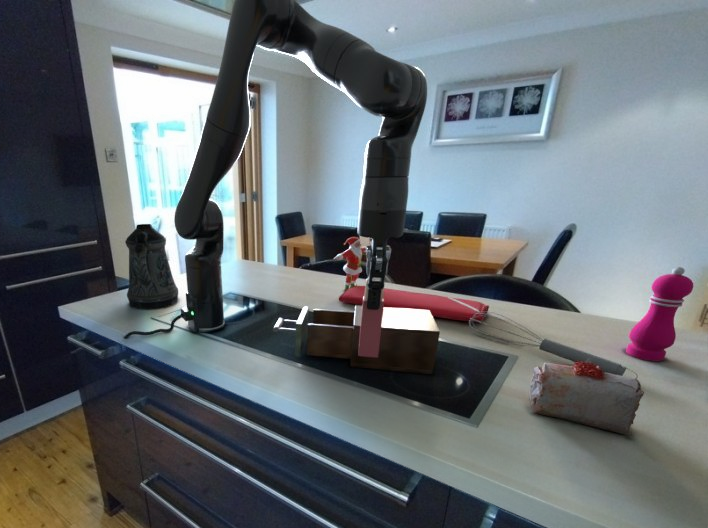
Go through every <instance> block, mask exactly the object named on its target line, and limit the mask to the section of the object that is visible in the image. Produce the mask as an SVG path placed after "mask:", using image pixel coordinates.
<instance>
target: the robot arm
mask: <svg viewBox="0 0 708 528" xmlns="http://www.w3.org/2000/svg"><path fill="white" fill-rule="evenodd" d="M231 8H232V9H231V12H230V17H229V21H228V22H229V23H228V27H227V32H226V37H225V42H224V47H223V52H222V57H221V61H220V67H219V71H218V74H217V79H216V82H215V87H214V90H213V93H212V97H211V101H210V104H209V107H208V110H207V113H206V116H205V120H204V123H203V126H202V130H201V135H200V137H199V142H198V146H197V149H196V152H195V156H194V159H193V161H192V162H193V163H192V165H191V168H190V171H189V175H188V178H187V179H186V183H185V185H184V187H183V189H182V193H181V195H180V197H179V200H178V202H177V205H176V208H175V210H174V211H175V212H174V221H173V222H174V227H175V231H176V232H177V234H178V236H179V237H180V238H181V239H184V240H187V241H188V240H189V241H191V240H192V241H194V240H195V243H194V246H193V247H192V248H191V249H190V250H189V251H188V252H187V253H186V254H185V256H184V263H185V277H186V287H187V291H186V292H185V300H186V302H185V303H186V306H184V307H180V314H178V315H177V316H175V317H174V318H173V319H172V320H171V323H170V327H169V328H158V329H157V328H156V329H154V330H150V331H139V330H133V331H129V332H128V333H126V334H125V335H124V336H123V339H129V338H130V337H131V336H135V335H138V336H153V335H156V334H159V333H170V332H172V331H173V330H174V328H175V324H176V322H177V321H179V320H180V319H182V320H184V321H185V322H187V323H188V325H187V326H188V327H189V328H190V330H192V331H193V332H194V333H211V332H212V333H213V332H216V331H220V330H222V329H224V328H225V314H224V313H225V311H224V293H223V275H222V273H223V272H222V258H223V253H224V240H225V239H224V231H225V230H224V229H225V228H224V215H223V212H222V209H221V207H220V205H219V204H218V202H216V201H215V200H213V199H211V197H212V194H213V193H214V190H215V189H216V188H217V186H218V184H219V183H220V182H221V181H222V180H223V179H224V177H225V176H226V175H227V174H228V173H229V172H230V170H231V169H232V168H233V167H234V165H235V164H236V163H237V161H238V159H239V158H240V156H241V154H242V151H243V148H244V146H245V143H246V140H247V137H248V135H249V132H250V129H251V107H250V98H249V97H250V96H249V86H248V85H249V73H250V69H251V65H252V61H253V58H254V54H255V51H256V49H257V47H260V48H262V49H264V50H267V51H274V52H278V53H281V54H285V55H289V56H292V57H295V58H296V59H299V60H300V61H302V62H303V63H305V64H306V65H307V66H308V67H309V68H310V70H311V71H312V72H313V73H315V74H316V75H317V76H318V77H320V78H321V79H322V80H324V81H325V82H327V83H328V84H330V85H331V86H333V87H335V88H336V89H338V90H339V91H342V92H343V93H345V94H346V95H347V96H348V97H349V98H350V99H351V100H352V101H353V103H355V104H356V105H357V107H359V108H361V109H362V110H364V111H365V112H367V113H368V114H370V115H373V116H375V117H379V118H382V121H381V124H380V128H379V132H378V135H377V136H375V137H373V138H371V139H370V140H369V141H368V142H367V144H366V147H365V152H364V163H363V176H362V177H363V178H362V184H361V188H360V194H359V206H358V208H359V209H358V219H357V220H358V221H357V232H356V233H357V235H358V236H359V237H361V238H365V239H366V238H367V239H371V244H370V245H366V247H367V249H366V252H365V257H366V264H365V265H366V266H365V270H366V273H365V274H366V275H367V277H366V279H367V278H369V280H368V284H367V287H368V297H367V309H370V310H378V309H379V308H380V299H381V290H382V289H383V287H384V288H385V283H384V280H385V278H386V276H387V275H388V267H389V260H390V259H391V253H392V248H391V246H390V245H388V240H389V239H396V238H401V237H402V236H403V235H404V232H405V223H406V217H407V206H408V199H409V180H410V179H409V176H410V169H411V160H412V149H413V146H414V143H415V140H416V137H417V135H418V133H419V129H420V126H421V123H422V119H423V117H424V112H425V110H426V105H427V99H428V82H427V78H426V75H425V73H424V72H423V71H422V69H420V68H419V67H416V66H414V65H411V64H408V63H405V62H402V61H398V60H396V59H394V58H391V57H389V56H387V55H385V54H383V53H380V52H379V51H377V50H376V49H375V47H373V46H372V45H371V44H370V43H368V42H366V41H365V40H363V39H361V38H360V37H357V36H355V35H353V34H351V33H350V32H348V31H346V30H344V29H342V28H339V27H337V26H335V25H331V24H327V23H325V22H322V21H321V20H319V19H317V18H316V17H314V16H313V15H311V14H310V12H308V11H307V10H306V9H305V8H304V7H303V6H302V5H301V4H300V3H299V2H298V1H297V0H233V5H232V7H231ZM372 278H380V281H372ZM385 281H386V280H385Z"/></svg>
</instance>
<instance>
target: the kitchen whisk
mask: <svg viewBox="0 0 708 528" xmlns="http://www.w3.org/2000/svg"><path fill="white" fill-rule="evenodd" d="M485 312H487V311H485ZM489 313H490V314H488V313H487V314H486V315H485V316H487V317H488V318H491V317H492V318H493V319H496V320H499V321H502V322H504V323H507V324H510V325H511V326H513V327H515V328H517V329H520V330H521V331H523V332H525V333H527V334H528V335H530V336H532V337H533V338H535V339H538V340H539V341H540V342H539V341H536V340H534V339H531V338H528V337H526V336H522V335H521V334H520V335H519V334H517V333H515V332H512V331H509V330H505V329H503V328H500V327H497V326H495V325H491V324H488V323H486V322H484V321H482V322H480V321H477V320H475V319H473V317H472V318H470V319H471V320H470V321H471V322H470V321H468V324H469V327H470V329H471V330H472V331H473V332H474V333H475V334H476V335H477V336H480V337H482V338H484V339H487V340H489V341H494V342H496V343H497V342H498V343H502V344H506V342H505V341H508V342H507V344H509V345H512V343H513V345H515V346H520V345H521V346H523V347H529V346H532V347H535V348H538V349H539V350H540V351H542V352H546V353H548V354H552V355H554V356H556V357H560V358H562V359H565V360H568V361H571V362H573V363H575V362H578V361H579V362H582V361H586V360H587V359H591V360H592V363H594V365H597V366H600V367H601V368H602V369H603V372H606V373H611V374H615V375H620V376H624V374H625V372H626V371H627V370H628V371H630V372H632V373H634V375H635V376H636V377H635V378H636V379H637V380H638V374H637V373H636V372H635V371H633V370H632V369H630V368H628V367H627V366H624V365H622V364H621V363H618V362H616V361H612V360H609V359H606V358H603V357H601V356H597V355H594V354H592V353H590V352H589V353H588V352H586V351H583V350H580V349H577V348H574V347H571V346H568V345H565V344H562V343H560V342H557V341H554V340H551V339H548V338H544V339H542V338H541V337H540V336H538V335H537V334H535V333H534V332H532V331H530V330H529V329H528V328H526V327H525V326H523V325H521V324H520V323H518V322H516V321H514V320H513V319H510V318H509V317H507V316H504V315H503V314H500V313H496V312H492V311H489ZM476 314H483V313H480V312H479V313H476ZM476 314H475V315H476ZM491 314H495V315H498V316H500V317H503V318H505V319H508V320H510V321H511V322H513V323H516V324H517V325H518V326H517V325H515V324H513V323H510V322H508V321H506V320H504V319H502V318H499V317H497V316H494V315H491ZM475 315H473V316H475ZM481 316H483V315H481ZM475 317H478V316H475ZM475 317H474V318H475ZM473 320H474V321H477V322H476V323H479V324H482V325H486V326H488V327H492V328H493V329H496V330H500V331H503V332H505V333H508V334H511V335H514V336H517V337H519V338H523V339H525V340H529V341H532V342H535V343H537V344H534V343H528V342H523V341H518V340H512V339H508V338H505V337H504V338H503V337H500V336H496V335H492V334H489V333H486V332H484V331H482V330H481V329H479V328H478V327H476V325H475V324H474V322H473ZM473 326H474V327H476V328H474V327H473ZM519 326H520V327H519ZM521 327H522V328H521ZM476 331H477V332H479V333H482V334H485V335H488V336H490V337H493V338H496V339H499V340H495V339H491V338H488V337H486V336H482V335H481V334H479V333H477V332H476ZM500 340H503V341H500Z"/></svg>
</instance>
